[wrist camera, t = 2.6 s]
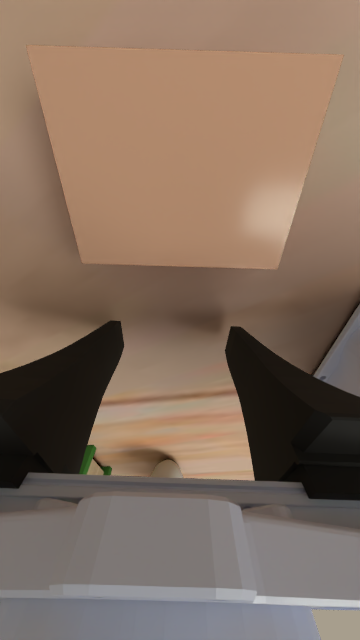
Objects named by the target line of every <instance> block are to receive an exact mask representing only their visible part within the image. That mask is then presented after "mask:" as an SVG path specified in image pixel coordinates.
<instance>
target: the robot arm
mask: <svg viewBox="0 0 360 640" xmlns="http://www.w3.org/2000/svg"><path fill="white" fill-rule="evenodd" d="M123 348H124V341H123V334H122V328H121V321H109V322H107V323H106V324H104V325H103V326H101V327H99V328H98V329H96V330H95V331H93V332H91V333H90V334H88V335H87V336H85V337H83V338H82V339H80V340H78V341H76V342H75V343H73V344H71V345H69V346H67V347H65V348H63V349H61V350H59V351H57V352H55V353H53V354H51V355H48V356H46V357H44V358H41V359H39V360H36V361H34V362H31V363H29V364H26V365H24V366H21V367H18V368H15V369H12V370H9V371H6V372H3V373H0V640H321V638H320V635H319V632H318V629H317V626H316V623H315V620H314V617H313V614H312V610H311V609H322V610H360V304H359V306H358V307H357V309H356V310H355V312H354V313H353V315H352V316H351V318H350V320H349V321H348V323H347V324H346V326H345V327H344V329H343V330H342V332H341V334H340V335H339V337H338V338H337V340H336V341H335V343H334V344H333V346H332V348H331V349H330V351H329V352H328V354H327V355H326V357H325V358H324V360H323V362H322V363H321V365H320V366H319V368H318V369H317V371H316V372H315V374H314V376H312V375H310V374H308V373H306V372H304V371H302V370H300V369H299V368H297V367H295V366H293V365H292V364H290V363H289V362H287V361H285V360H284V359H282V358H281V357H279V356H278V355H276V354H275V353H273V352H272V351H271V350H269V349H268V348H267V347H265V346H264V345H263V344H261V343H260V342H259V341H258V340H256V339H255V338H254V337H253V336H251V335H250V334H249V333H248V332H246V331H245V330H244V329H243V328H241V327H234V326H231V328H230V332H229V336H228V340H227V345H226V349H225V353H226V358H227V363H228V367H229V370H230V373H231V376H232V379H233V382H234V384H235V387H236V390H237V393H238V396H239V400H240V404H241V408H242V412H243V417H244V422H245V426H246V431H247V436H248V442H249V447H250V453H251V459H252V465H253V471H254V478H255V481H249V480H221V479H194V478H166V477H139V476H111V475H84V474H79V472H80V469H81V465H82V461H83V458H84V454H85V450H86V447H87V444H88V440H89V437H90V434H91V430H92V427H93V424H94V421H95V418H96V415H97V412H98V409H99V406H100V403H101V401H102V398H103V395H104V393H105V390H106V388H107V386H108V384H109V382H110V380H111V377H112V375H113V373H114V371H115V369H116V367H117V365H118V363H119V360H120V358H121V355H122V352H123Z"/></svg>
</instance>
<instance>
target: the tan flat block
mask: <svg viewBox="0 0 360 640" xmlns="http://www.w3.org/2000/svg"><path fill="white" fill-rule="evenodd" d="M26 48H27V52H28V56H29V60H30V64H31V68H32V72H33V75H34V79H35V83H36V87H37V91H38V95H39V99H40V103H41V107H42V110H43V114H44V118H45V122H46V126H47V130H48V134H49V138H50V142H51V145H52V149H53V153H54V157H55V161H56V165H57V169H58V173H59V177H60V180H61V184H62V188H63V192H64V196H65V200H66V204H67V208H68V212H69V215H70V219H71V223H72V227H73V231H74V235H75V239H76V243H77V247H78V250H79V254H80V258H81V262H82V264H115V265H148V266H182V267H215V268H249V269H278V266H279V263H280V259H281V256H282V253H283V250H284V247H285V243H286V240H287V237H288V234H289V231H290V227H291V224H292V221H293V218H294V214H295V211H296V208H297V205H298V202H299V198H300V195H301V192H302V189H303V185H304V182H305V179H306V176H307V173H308V169H309V166H310V163H311V160H312V156H313V153H314V150H315V147H316V144H317V140H318V137H319V134H320V131H321V127H322V124H323V121H324V118H325V115H326V111H327V108H328V105H329V102H330V99H331V95H332V92H333V89H334V86H335V82H336V79H337V76H338V73H339V70H340V66H341V63H342V60H343V57H344V55H337V54H304V53H272V52H239V51H206V50H174V49H141V48H109V47H76V46H44V45H26Z"/></svg>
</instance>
